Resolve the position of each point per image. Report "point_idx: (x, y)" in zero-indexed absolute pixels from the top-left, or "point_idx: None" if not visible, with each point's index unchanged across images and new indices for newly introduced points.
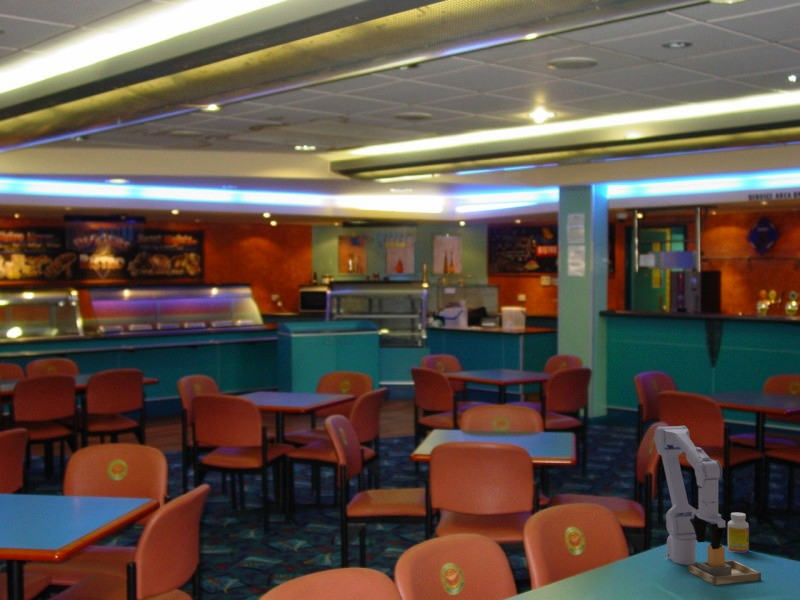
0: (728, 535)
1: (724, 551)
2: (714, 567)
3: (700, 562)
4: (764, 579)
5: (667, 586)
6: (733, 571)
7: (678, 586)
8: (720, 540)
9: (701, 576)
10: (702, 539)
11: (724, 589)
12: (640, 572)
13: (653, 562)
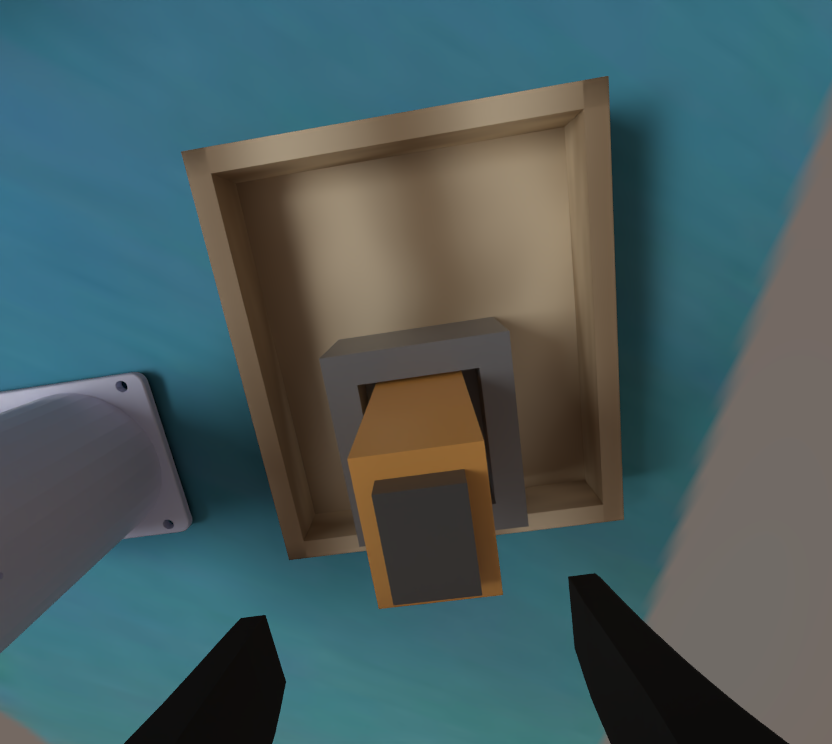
0: None
1: (476, 421)
2: (507, 482)
3: (360, 529)
4: (496, 24)
5: (503, 690)
6: (346, 228)
7: (515, 644)
8: (681, 670)
9: None
10: (260, 669)
11: (633, 432)
12: None
13: (64, 611)
